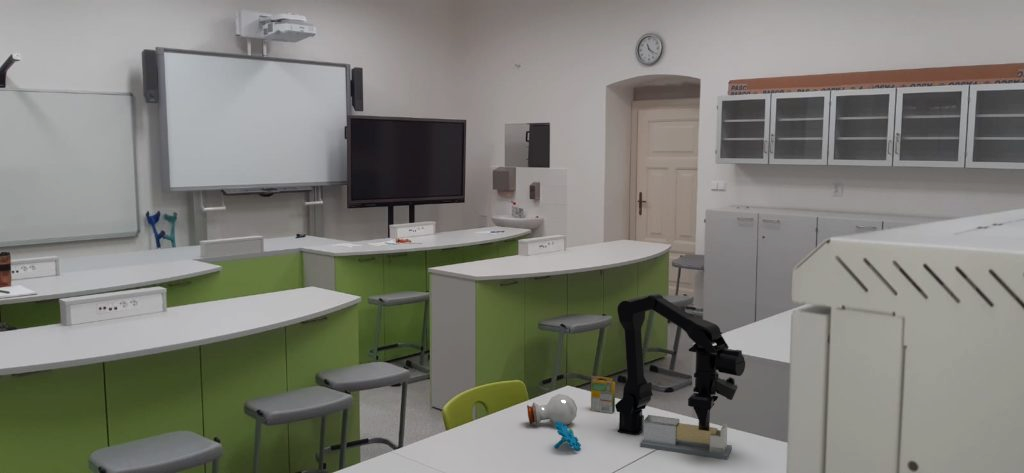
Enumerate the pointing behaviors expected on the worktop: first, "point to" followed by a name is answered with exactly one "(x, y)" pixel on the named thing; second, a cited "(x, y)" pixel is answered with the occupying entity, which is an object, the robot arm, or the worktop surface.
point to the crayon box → (602, 395)
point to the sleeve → (660, 430)
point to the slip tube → (696, 432)
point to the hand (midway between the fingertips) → (704, 424)
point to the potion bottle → (554, 410)
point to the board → (689, 448)
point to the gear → (567, 436)
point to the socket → (719, 440)
